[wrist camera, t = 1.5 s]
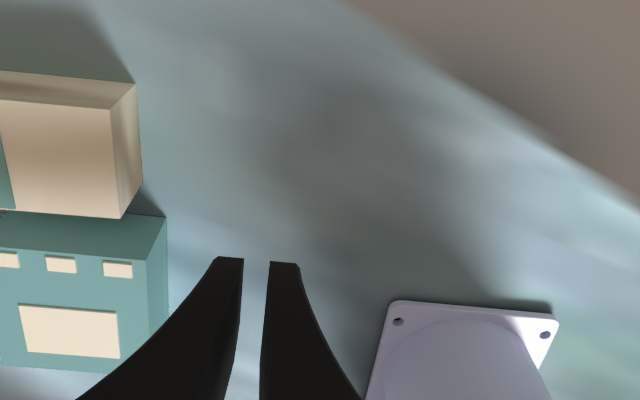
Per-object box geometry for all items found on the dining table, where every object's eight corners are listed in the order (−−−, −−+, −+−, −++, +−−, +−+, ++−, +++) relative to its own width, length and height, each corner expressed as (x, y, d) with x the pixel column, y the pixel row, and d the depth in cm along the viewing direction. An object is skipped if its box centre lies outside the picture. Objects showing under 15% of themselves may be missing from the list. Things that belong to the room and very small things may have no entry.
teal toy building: (168, 326, 24) (150, 378, 21) (36, 315, 23) (0, 366, 21) (166, 217, 21) (144, 262, 18) (15, 202, 21) (-29, 246, 18)
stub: (144, 180, 20) (119, 220, 18) (15, 169, 20) (-30, 208, 17) (137, 82, 19) (108, 111, 16) (-6, 68, 18) (-60, 95, 15)
